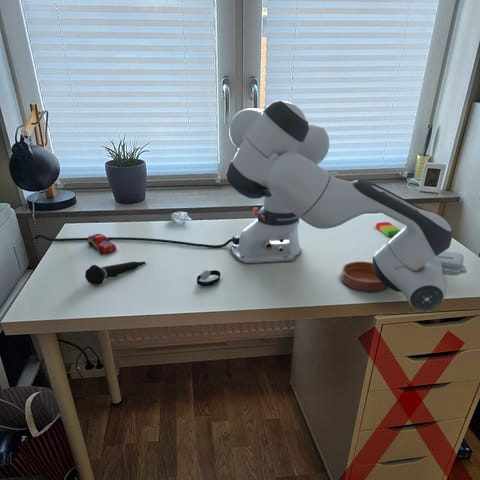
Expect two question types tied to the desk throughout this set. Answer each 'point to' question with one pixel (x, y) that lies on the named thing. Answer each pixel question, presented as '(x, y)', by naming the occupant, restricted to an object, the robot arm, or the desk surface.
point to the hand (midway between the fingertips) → (419, 247)
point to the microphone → (109, 271)
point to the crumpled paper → (180, 217)
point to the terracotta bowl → (361, 276)
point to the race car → (101, 244)
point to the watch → (205, 275)
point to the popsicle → (387, 228)
